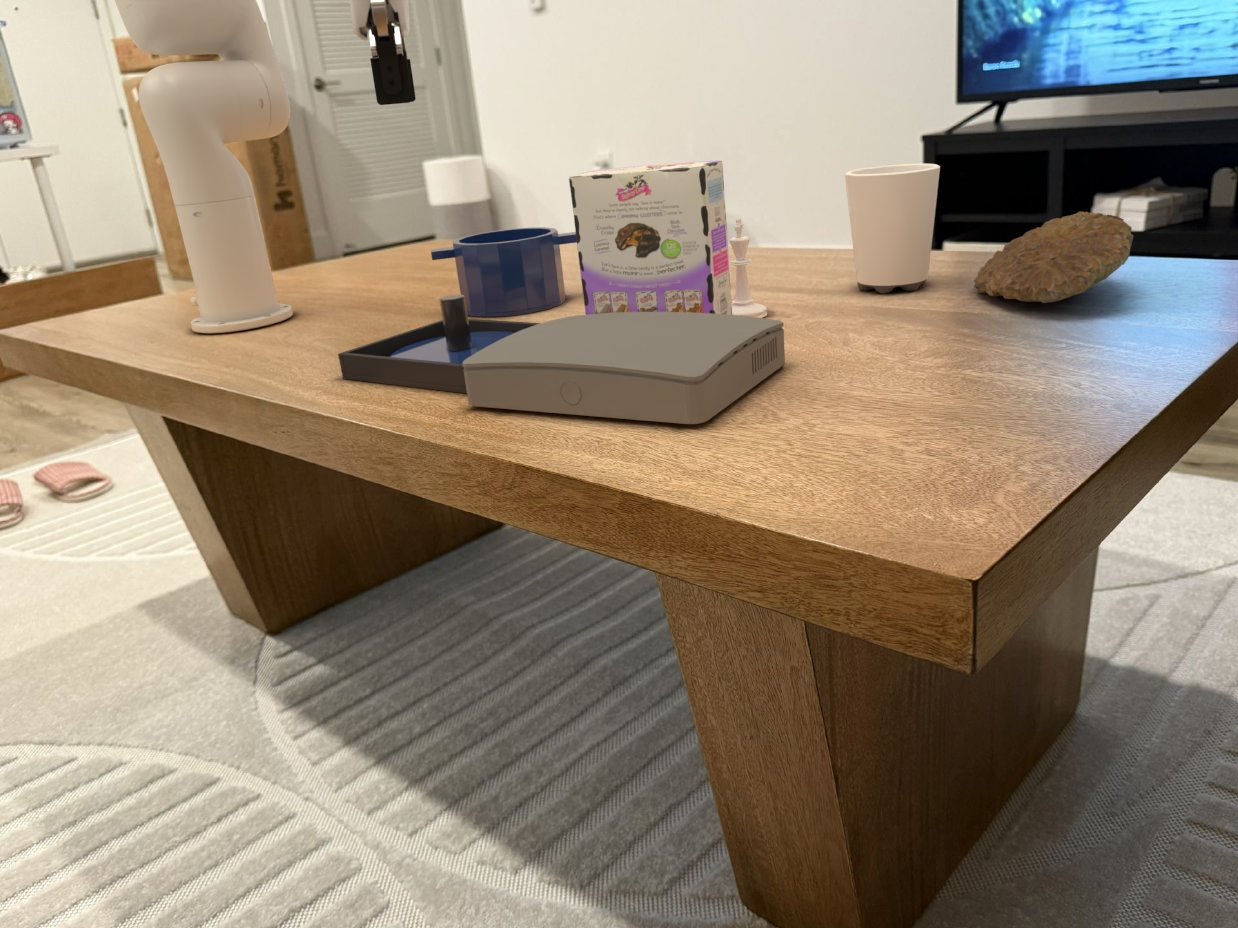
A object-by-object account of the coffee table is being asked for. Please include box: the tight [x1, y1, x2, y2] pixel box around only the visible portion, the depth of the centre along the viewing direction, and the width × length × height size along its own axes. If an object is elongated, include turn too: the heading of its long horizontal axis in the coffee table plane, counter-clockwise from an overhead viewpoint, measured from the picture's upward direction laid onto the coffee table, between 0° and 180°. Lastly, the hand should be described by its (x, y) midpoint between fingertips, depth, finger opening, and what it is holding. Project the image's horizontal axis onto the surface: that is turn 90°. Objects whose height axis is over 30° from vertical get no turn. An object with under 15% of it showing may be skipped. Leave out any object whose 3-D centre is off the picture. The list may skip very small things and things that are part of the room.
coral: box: [973, 211, 1134, 304], centre depth 97 cm, size 19×9×15 cm
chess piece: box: [729, 218, 768, 318], centre depth 102 cm, size 5×5×10 cm
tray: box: [337, 318, 541, 394], centre depth 95 cm, size 17×15×2 cm
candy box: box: [568, 160, 732, 315], centre depth 95 cm, size 14×6×16 cm, turn 65°
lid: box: [390, 294, 514, 364], centre depth 95 cm, size 14×14×6 cm
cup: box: [844, 163, 941, 294], centre depth 108 cm, size 10×10×13 cm
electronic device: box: [463, 312, 786, 425], centre depth 82 cm, size 19×22×5 cm
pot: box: [430, 226, 577, 318], centre depth 120 cm, size 13×18×8 cm
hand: (397, 103), depth 95 cm, fingers open, 9 cm apart
